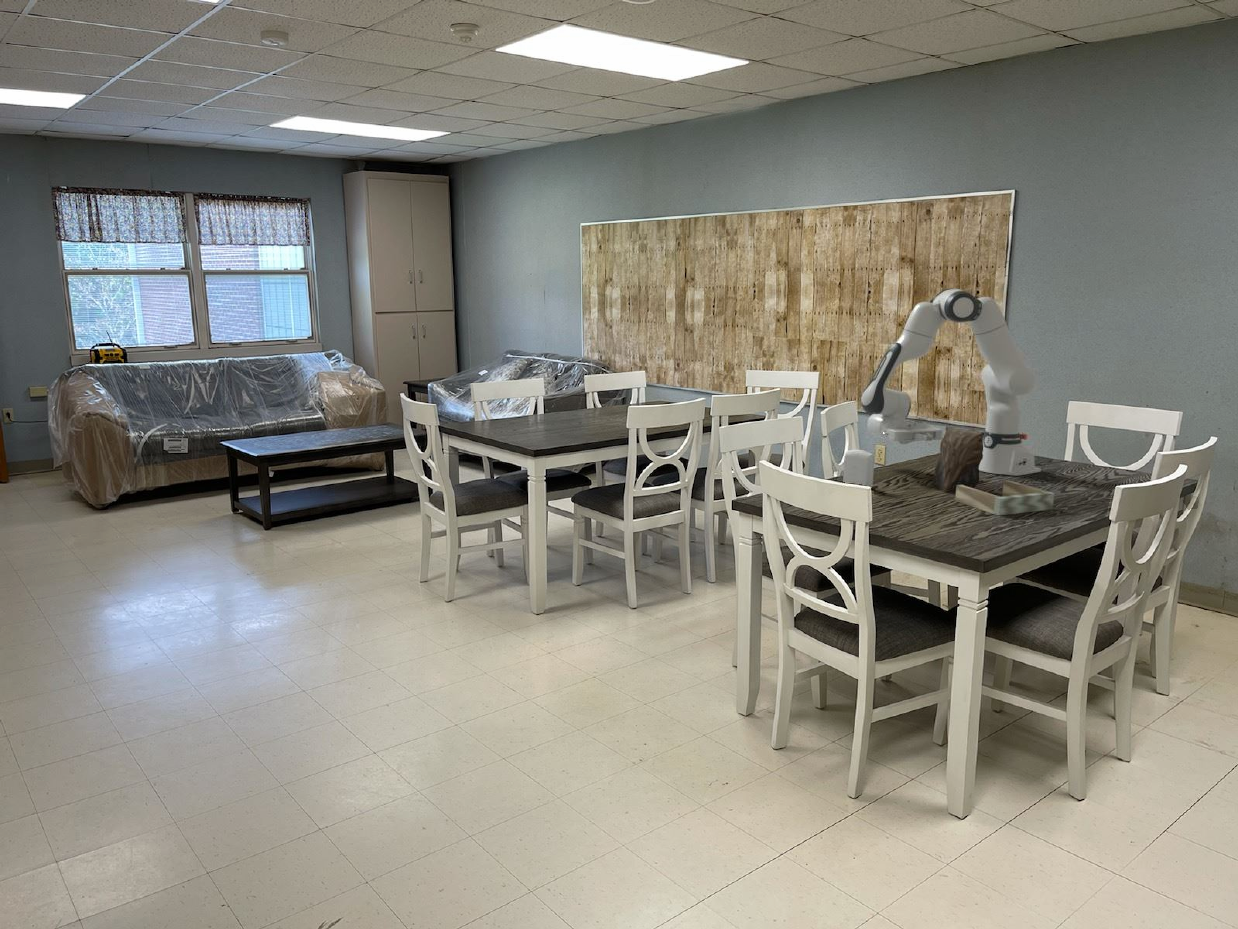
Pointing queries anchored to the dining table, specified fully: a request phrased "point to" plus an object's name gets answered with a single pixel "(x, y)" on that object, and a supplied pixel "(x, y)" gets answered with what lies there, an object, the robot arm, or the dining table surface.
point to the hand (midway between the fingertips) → (929, 438)
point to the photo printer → (858, 467)
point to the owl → (959, 459)
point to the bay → (1007, 499)
